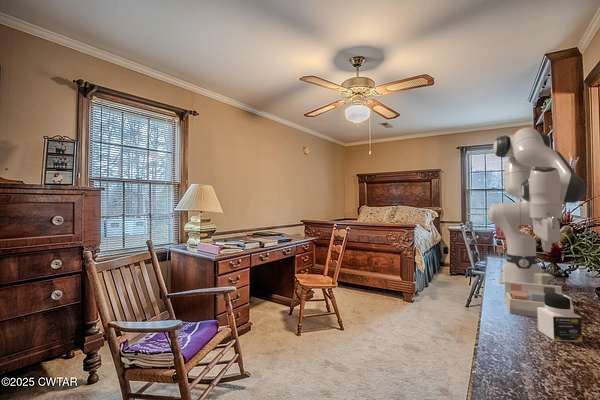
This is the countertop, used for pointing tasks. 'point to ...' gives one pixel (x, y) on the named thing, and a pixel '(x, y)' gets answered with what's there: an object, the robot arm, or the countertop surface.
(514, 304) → the cream open box
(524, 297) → the terracotta key
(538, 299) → the slate key
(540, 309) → the medicine bottle
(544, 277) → the skincare box
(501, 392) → the countertop surface
